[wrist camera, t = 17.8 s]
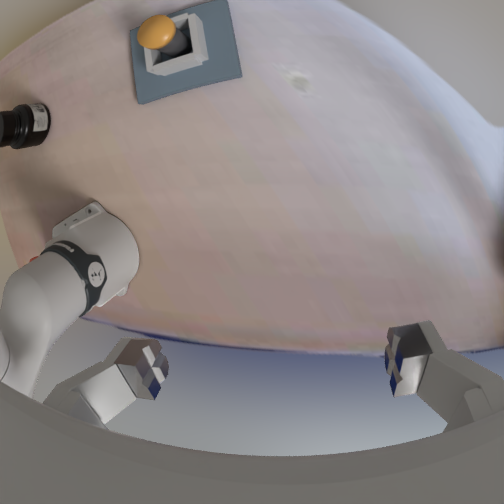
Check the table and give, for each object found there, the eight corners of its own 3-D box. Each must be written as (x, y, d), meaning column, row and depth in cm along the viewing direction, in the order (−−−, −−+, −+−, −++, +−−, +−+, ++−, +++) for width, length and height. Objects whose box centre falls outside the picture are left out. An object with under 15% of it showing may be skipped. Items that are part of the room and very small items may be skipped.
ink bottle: (58, 120, 39) (12, 124, 28) (40, 154, 43) (-3, 165, 32) (39, 95, 38) (-4, 96, 27) (23, 128, 41) (-18, 135, 30)
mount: (143, 104, 37) (126, 102, 33) (134, 33, 32) (118, 25, 28) (242, 77, 34) (235, 69, 29) (227, 1, 29) (219, -13, 24)
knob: (167, 65, 33) (138, 52, 25) (163, 39, 31) (135, 23, 24) (197, 56, 32) (174, 39, 24) (193, 29, 30) (170, 9, 23)
